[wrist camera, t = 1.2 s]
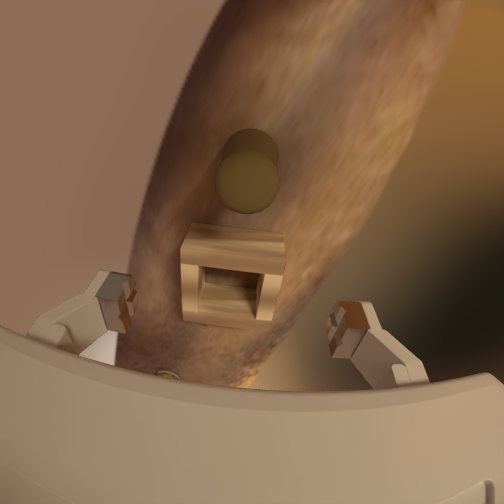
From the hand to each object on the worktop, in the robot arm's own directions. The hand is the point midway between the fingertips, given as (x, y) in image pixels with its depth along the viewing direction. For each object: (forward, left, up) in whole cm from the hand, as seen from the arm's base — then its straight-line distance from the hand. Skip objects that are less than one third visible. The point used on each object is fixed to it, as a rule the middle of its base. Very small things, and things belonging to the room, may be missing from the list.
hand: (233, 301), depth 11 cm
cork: (0, 0, -23) cm, 23 cm away
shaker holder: (+15, -1, -23) cm, 27 cm away
